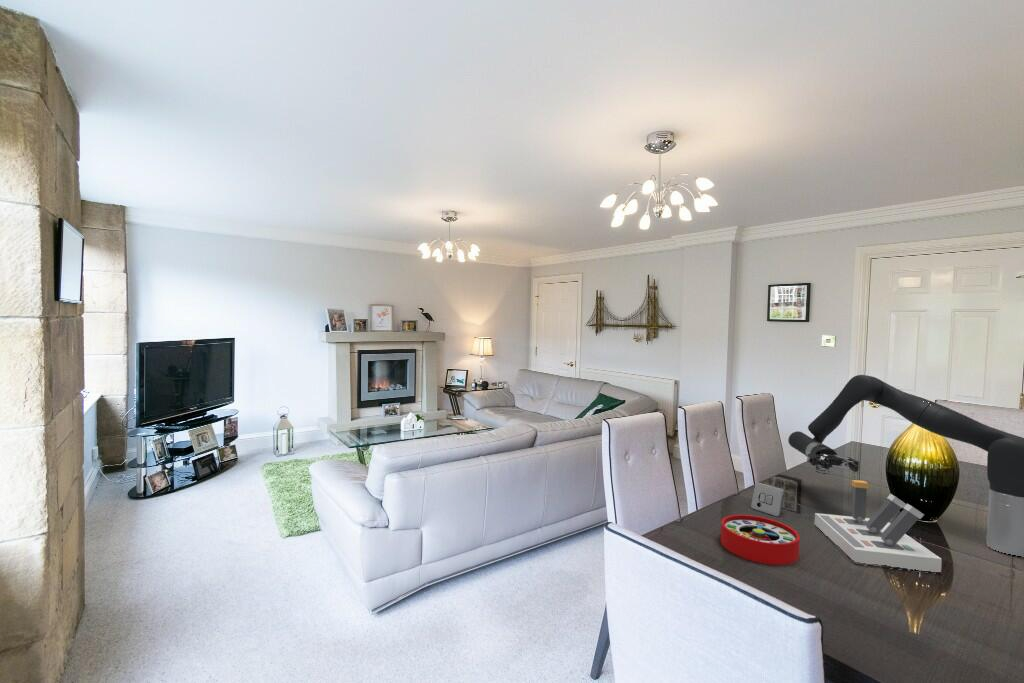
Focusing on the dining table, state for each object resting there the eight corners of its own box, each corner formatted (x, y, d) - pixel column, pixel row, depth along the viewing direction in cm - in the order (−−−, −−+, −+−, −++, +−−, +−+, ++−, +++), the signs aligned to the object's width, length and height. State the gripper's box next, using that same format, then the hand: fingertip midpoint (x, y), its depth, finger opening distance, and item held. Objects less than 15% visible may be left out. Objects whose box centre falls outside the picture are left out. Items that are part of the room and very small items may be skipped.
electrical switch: (750, 508, 166) (752, 482, 166) (757, 507, 169) (760, 481, 169) (777, 517, 159) (780, 490, 159) (785, 516, 162) (787, 489, 162)
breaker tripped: (861, 519, 147) (863, 480, 146) (866, 522, 144) (868, 483, 144) (849, 518, 147) (851, 479, 147) (853, 521, 145) (855, 482, 144)
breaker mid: (872, 532, 139) (901, 501, 137) (877, 536, 136) (906, 504, 135) (862, 525, 140) (890, 493, 138) (867, 528, 137) (895, 496, 135)
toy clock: (716, 532, 132) (725, 509, 149) (716, 553, 132) (724, 528, 150) (800, 551, 122) (799, 524, 139) (799, 573, 122) (798, 544, 139)
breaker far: (888, 544, 131) (918, 511, 129) (893, 548, 129) (924, 514, 127) (877, 536, 132) (906, 503, 130) (882, 540, 129) (912, 506, 127)
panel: (884, 532, 149) (885, 518, 149) (940, 574, 123) (941, 557, 123) (814, 525, 153) (815, 512, 153) (854, 564, 127) (855, 548, 127)
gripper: (800, 442, 174) (818, 454, 158) (843, 446, 171) (867, 458, 155) (798, 462, 174) (817, 476, 158) (842, 466, 171) (865, 481, 155)
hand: (842, 467), depth 156 cm, fingers open, 8 cm apart
